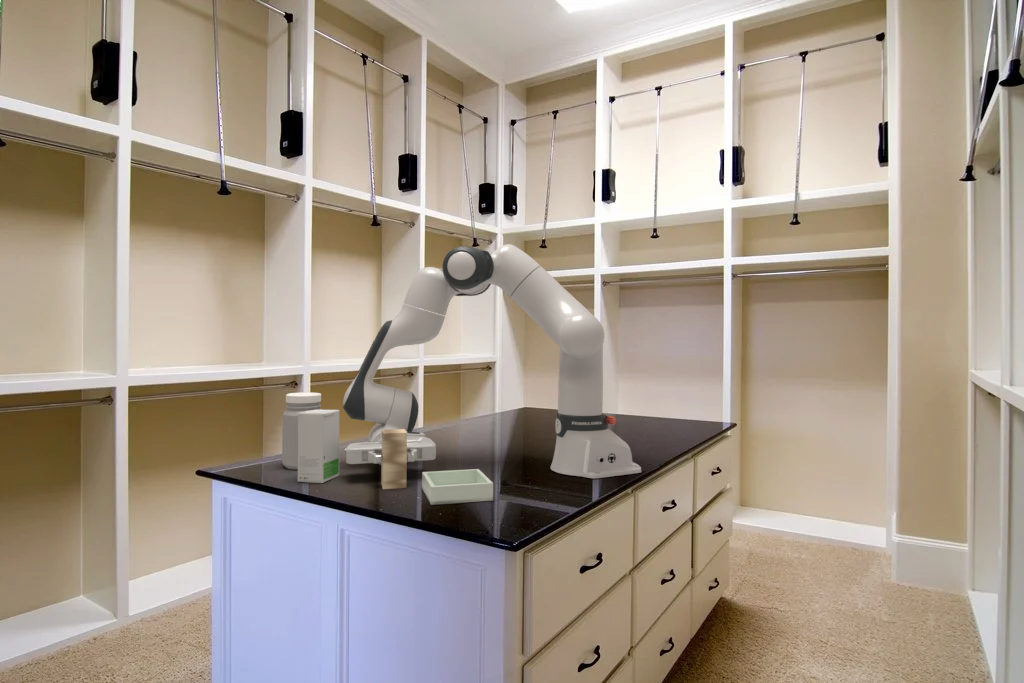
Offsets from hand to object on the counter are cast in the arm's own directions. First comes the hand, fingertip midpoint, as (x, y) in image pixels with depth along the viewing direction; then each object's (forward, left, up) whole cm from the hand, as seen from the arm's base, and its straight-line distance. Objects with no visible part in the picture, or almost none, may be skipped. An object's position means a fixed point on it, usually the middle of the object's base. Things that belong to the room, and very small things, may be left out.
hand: (394, 459), depth 127 cm
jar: (+20, -25, -6) cm, 33 cm away
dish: (-12, +9, -6) cm, 16 cm away
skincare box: (+16, -11, -6) cm, 20 cm away
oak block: (0, -1, -6) cm, 6 cm away
